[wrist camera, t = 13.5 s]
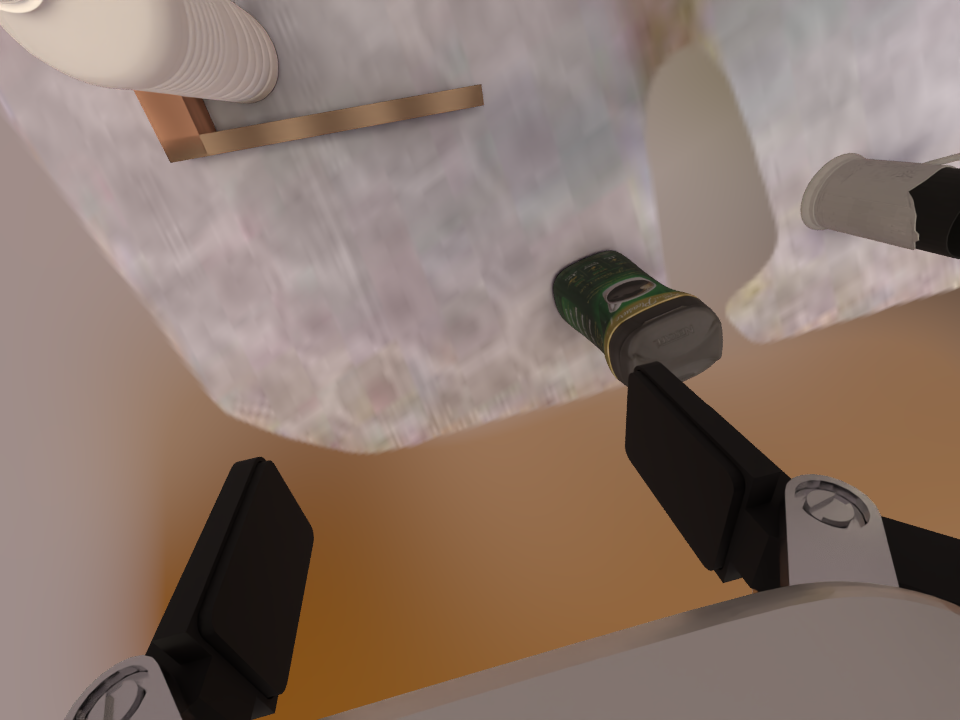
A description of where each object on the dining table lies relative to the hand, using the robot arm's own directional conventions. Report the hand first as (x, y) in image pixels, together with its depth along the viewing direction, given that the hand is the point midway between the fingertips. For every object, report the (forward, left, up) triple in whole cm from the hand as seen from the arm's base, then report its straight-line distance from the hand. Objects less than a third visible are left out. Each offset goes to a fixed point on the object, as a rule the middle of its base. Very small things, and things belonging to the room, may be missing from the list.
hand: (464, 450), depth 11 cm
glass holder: (-53, +7, -36) cm, 65 cm away
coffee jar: (-19, +13, -36) cm, 43 cm away
